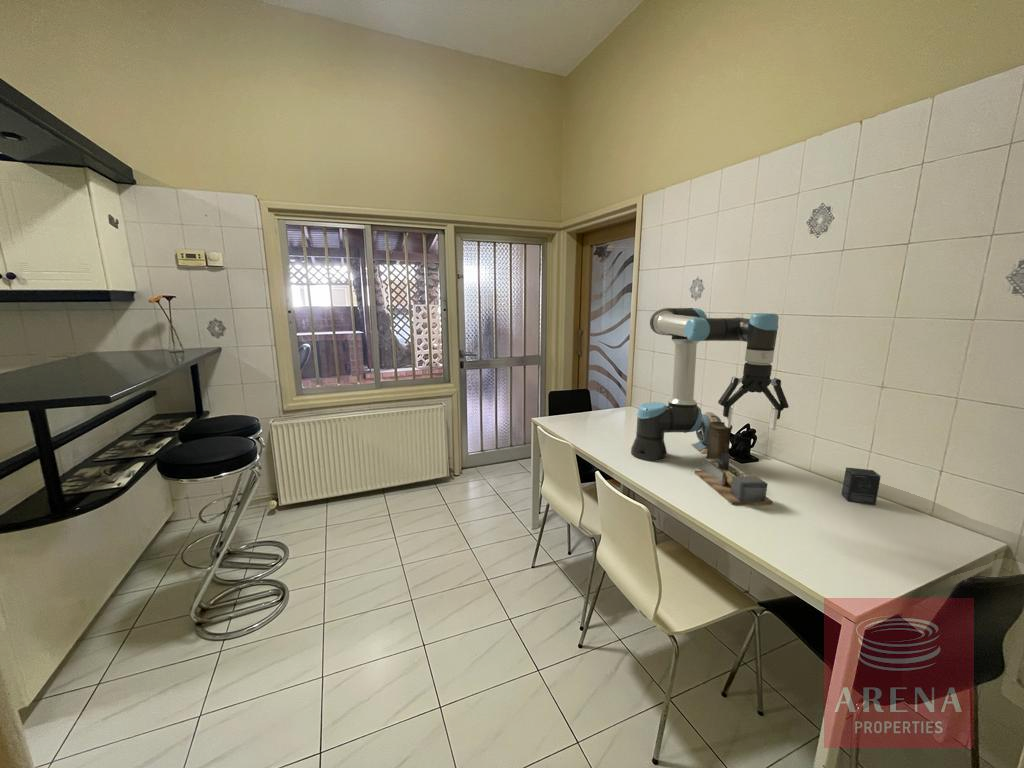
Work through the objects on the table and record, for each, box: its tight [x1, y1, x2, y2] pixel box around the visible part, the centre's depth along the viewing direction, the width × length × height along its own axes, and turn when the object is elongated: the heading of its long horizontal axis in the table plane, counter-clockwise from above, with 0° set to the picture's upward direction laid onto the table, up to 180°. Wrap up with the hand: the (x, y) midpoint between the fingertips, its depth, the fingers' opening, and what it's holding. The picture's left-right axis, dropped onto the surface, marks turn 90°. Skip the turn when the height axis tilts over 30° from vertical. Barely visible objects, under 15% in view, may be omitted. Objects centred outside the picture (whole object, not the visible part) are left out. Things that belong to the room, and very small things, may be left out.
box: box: [841, 466, 882, 506], centre depth 138 cm, size 8×6×11 cm
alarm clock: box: [690, 411, 722, 455], centre depth 185 cm, size 14×10×18 cm
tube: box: [713, 452, 735, 486], centre depth 151 cm, size 14×4×10 cm, turn 3°
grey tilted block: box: [701, 458, 745, 486], centre depth 153 cm, size 14×8×5 cm, turn 3°
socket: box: [730, 475, 768, 502], centre depth 137 cm, size 6×8×6 cm
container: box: [705, 421, 733, 459], centre depth 166 cm, size 9×9×18 cm
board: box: [694, 469, 774, 506], centre depth 148 cm, size 26×14×1 cm, turn 3°
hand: (749, 427), depth 130 cm, fingers open, 13 cm apart
